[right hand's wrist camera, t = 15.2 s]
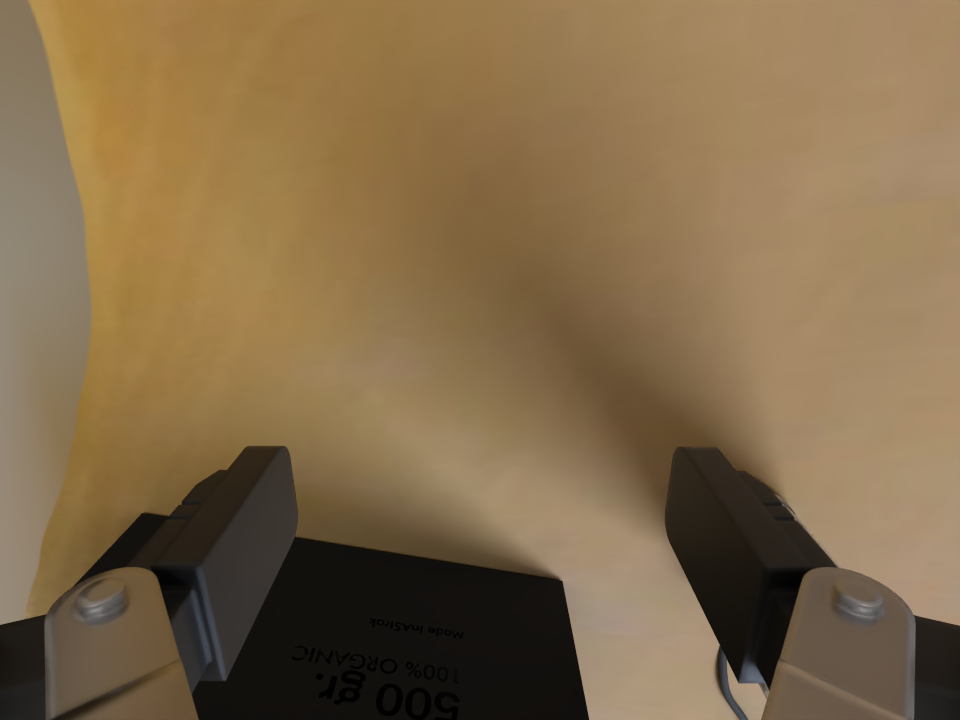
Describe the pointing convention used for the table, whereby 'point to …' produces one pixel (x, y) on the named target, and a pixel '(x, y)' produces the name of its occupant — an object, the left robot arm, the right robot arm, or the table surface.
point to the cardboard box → (391, 640)
